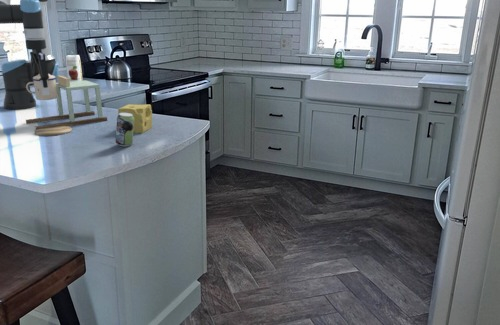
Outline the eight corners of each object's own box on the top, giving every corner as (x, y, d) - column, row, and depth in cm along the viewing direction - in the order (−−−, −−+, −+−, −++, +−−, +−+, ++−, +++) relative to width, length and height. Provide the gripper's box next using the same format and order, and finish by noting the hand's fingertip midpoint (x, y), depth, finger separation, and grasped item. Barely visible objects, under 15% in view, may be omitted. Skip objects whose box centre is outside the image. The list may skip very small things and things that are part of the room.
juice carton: (70, 83, 322) (67, 54, 316) (83, 83, 323) (80, 54, 317) (67, 85, 315) (64, 55, 309) (81, 84, 316) (77, 55, 310)
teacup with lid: (58, 95, 210) (55, 69, 207) (58, 99, 202) (54, 72, 198) (28, 97, 207) (24, 70, 203) (27, 101, 198) (23, 73, 195)
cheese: (143, 133, 191) (141, 109, 188) (118, 132, 193) (116, 108, 190) (153, 127, 201) (151, 104, 198) (129, 126, 203) (127, 103, 200)
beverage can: (117, 143, 177) (114, 111, 174) (137, 142, 178) (135, 111, 174) (114, 148, 171) (111, 115, 168) (135, 147, 172) (132, 114, 168)
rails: (26, 123, 210) (25, 119, 210) (93, 114, 227) (92, 111, 227) (36, 130, 197) (36, 127, 196) (107, 120, 214) (106, 117, 213)
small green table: (58, 115, 218) (53, 75, 212) (89, 111, 226) (84, 72, 220) (71, 122, 204) (65, 79, 199) (102, 117, 212) (98, 76, 207)
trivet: (31, 131, 196) (30, 129, 196) (65, 126, 204) (65, 124, 204) (40, 137, 186) (40, 135, 185) (76, 132, 194) (76, 130, 193)
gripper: (19, 37, 202) (27, 90, 209) (32, 41, 186) (40, 98, 193) (37, 37, 206) (44, 88, 214) (52, 40, 190) (59, 96, 197)
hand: (42, 93), depth 203 cm, fingers closed on teacup with lid, 9 cm apart
